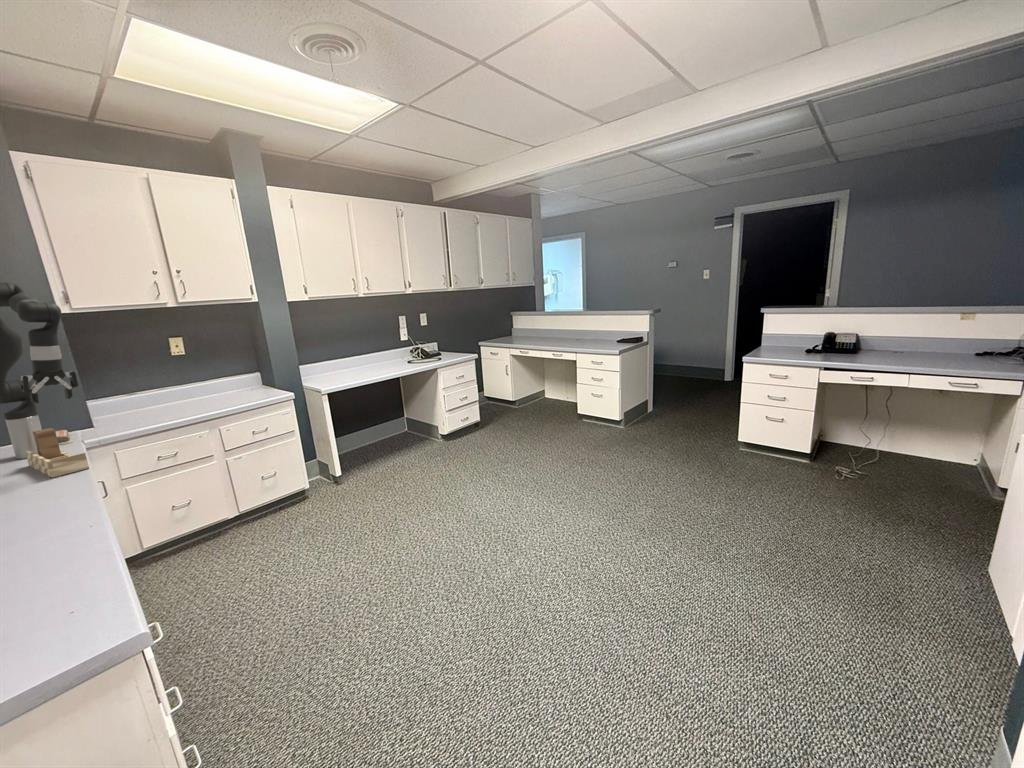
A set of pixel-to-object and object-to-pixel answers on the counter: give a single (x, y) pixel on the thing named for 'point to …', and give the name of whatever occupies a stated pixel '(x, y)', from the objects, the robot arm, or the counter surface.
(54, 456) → the walnut block
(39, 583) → the counter surface
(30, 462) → the box
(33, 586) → the counter surface
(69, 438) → the packaged product
